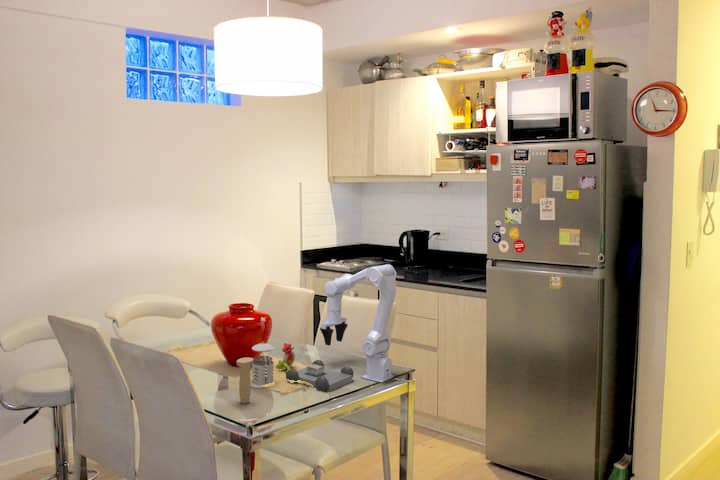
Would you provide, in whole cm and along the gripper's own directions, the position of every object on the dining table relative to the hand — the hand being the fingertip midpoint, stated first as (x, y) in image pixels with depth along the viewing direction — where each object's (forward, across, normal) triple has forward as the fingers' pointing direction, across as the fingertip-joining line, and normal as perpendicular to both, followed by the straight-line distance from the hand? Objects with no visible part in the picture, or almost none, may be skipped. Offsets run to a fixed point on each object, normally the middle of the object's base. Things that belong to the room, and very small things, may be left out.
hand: (333, 343), depth 287 cm
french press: (+10, +35, -6) cm, 37 cm away
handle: (+10, +53, +2) cm, 54 cm away
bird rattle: (+10, +16, -11) cm, 22 cm away
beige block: (+9, +19, +6) cm, 22 cm away
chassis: (+9, +19, +8) cm, 23 cm away
